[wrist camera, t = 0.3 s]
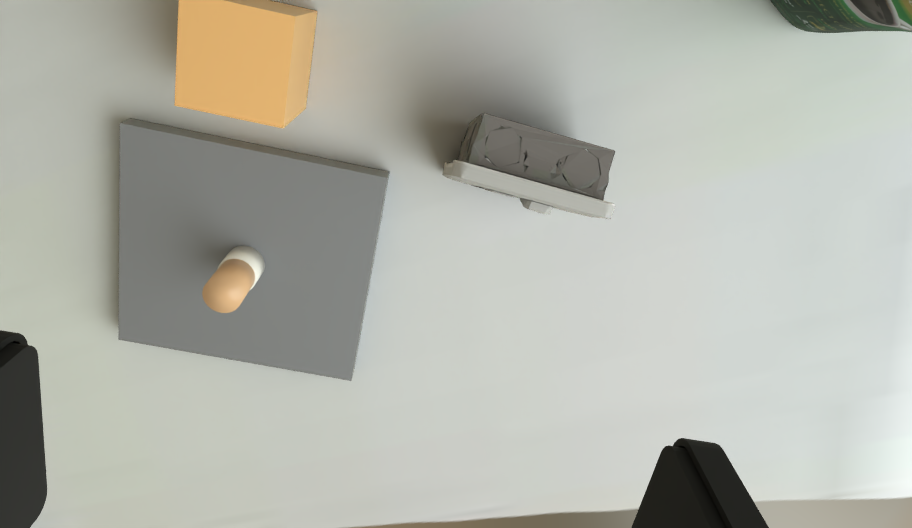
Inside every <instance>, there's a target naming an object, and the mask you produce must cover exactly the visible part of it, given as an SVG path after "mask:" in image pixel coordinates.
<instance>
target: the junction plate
mask: <svg viewBox="0 0 912 528" xmlns="http://www.w3.org/2000/svg"><path fill="white" fill-rule="evenodd" d="M388 178H389V172H388V171H383V170H379V169H374V168H369V167H364V166H359V165H354V164H350V163H345V162H340V161H335V160H330V159H325V158H320V157H316V156H311V155H306V154H301V153H296V152H291V151H287V150H282V149H277V148H272V147H267V146H262V145H258V144H253V143H248V142H243V141H238V140H233V139H229V138H224V137H219V136H214V135H209V134H204V133H200V132H195V131H190V130H185V129H180V128H175V127H170V126H166V125H161V124H156V123H151V122H146V121H141V120H137V119H132V118H130V119H128V120H126V121H124V122H121V123H120V189H119V340H124V341H129V342H135V343H141V344H146V345H152V346H158V347H163V348H169V349H174V350H180V351H186V352H191V353H197V354H203V355H208V356H214V357H220V358H225V359H231V360H237V361H242V362H248V363H254V364H259V365H265V366H270V367H276V368H282V369H287V370H293V371H299V372H304V373H310V374H316V375H321V376H327V377H333V378H338V379H344V380H349V381H351V380H352V376H353V372H354V368H355V362H356V357H357V351H358V345H359V340H360V334H361V329H362V323H363V317H364V312H365V306H366V301H367V295H368V290H369V284H370V278H371V273H372V267H373V262H374V256H375V250H376V245H377V239H378V234H379V228H380V223H381V217H382V211H383V206H384V200H385V195H386V189H387V183H388Z"/></svg>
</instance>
